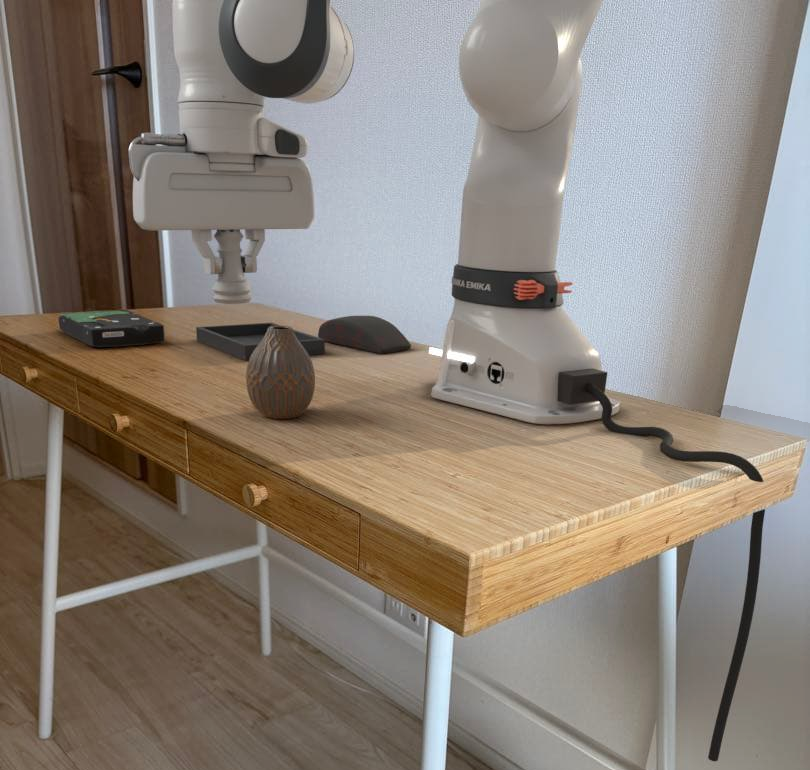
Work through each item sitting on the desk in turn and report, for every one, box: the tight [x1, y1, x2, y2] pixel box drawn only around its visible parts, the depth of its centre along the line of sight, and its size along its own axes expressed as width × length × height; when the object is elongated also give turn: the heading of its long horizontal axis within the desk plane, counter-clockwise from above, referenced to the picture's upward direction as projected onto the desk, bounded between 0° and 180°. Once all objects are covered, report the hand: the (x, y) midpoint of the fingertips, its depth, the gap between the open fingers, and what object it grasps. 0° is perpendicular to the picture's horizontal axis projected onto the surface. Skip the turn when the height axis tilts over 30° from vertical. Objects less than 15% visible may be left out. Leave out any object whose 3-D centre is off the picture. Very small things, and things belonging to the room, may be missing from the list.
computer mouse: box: [317, 315, 412, 355], centre depth 123 cm, size 8×14×4 cm, turn 49°
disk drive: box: [57, 309, 166, 348], centre depth 118 cm, size 10×3×15 cm
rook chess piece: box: [212, 230, 253, 305], centre depth 93 cm, size 4×4×8 cm
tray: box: [195, 322, 326, 362], centre depth 117 cm, size 15×12×2 cm
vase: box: [245, 325, 316, 420], centre depth 84 cm, size 7×7×9 cm
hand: (231, 273), depth 93 cm, fingers closed on rook chess piece, 3 cm apart
